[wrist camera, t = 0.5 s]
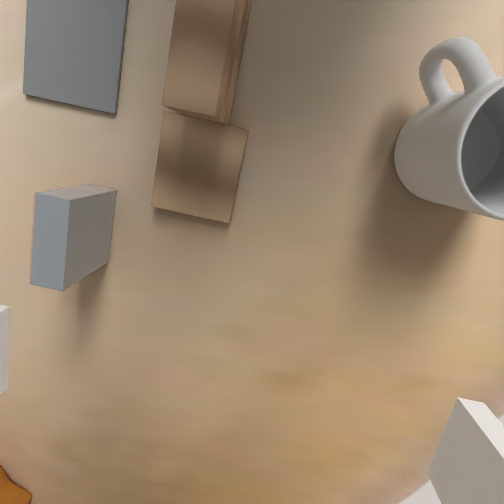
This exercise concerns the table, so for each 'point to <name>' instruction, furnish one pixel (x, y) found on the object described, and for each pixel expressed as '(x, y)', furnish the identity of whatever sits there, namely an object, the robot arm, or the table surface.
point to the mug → (456, 134)
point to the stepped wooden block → (202, 110)
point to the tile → (70, 234)
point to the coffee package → (12, 491)
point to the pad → (75, 51)
